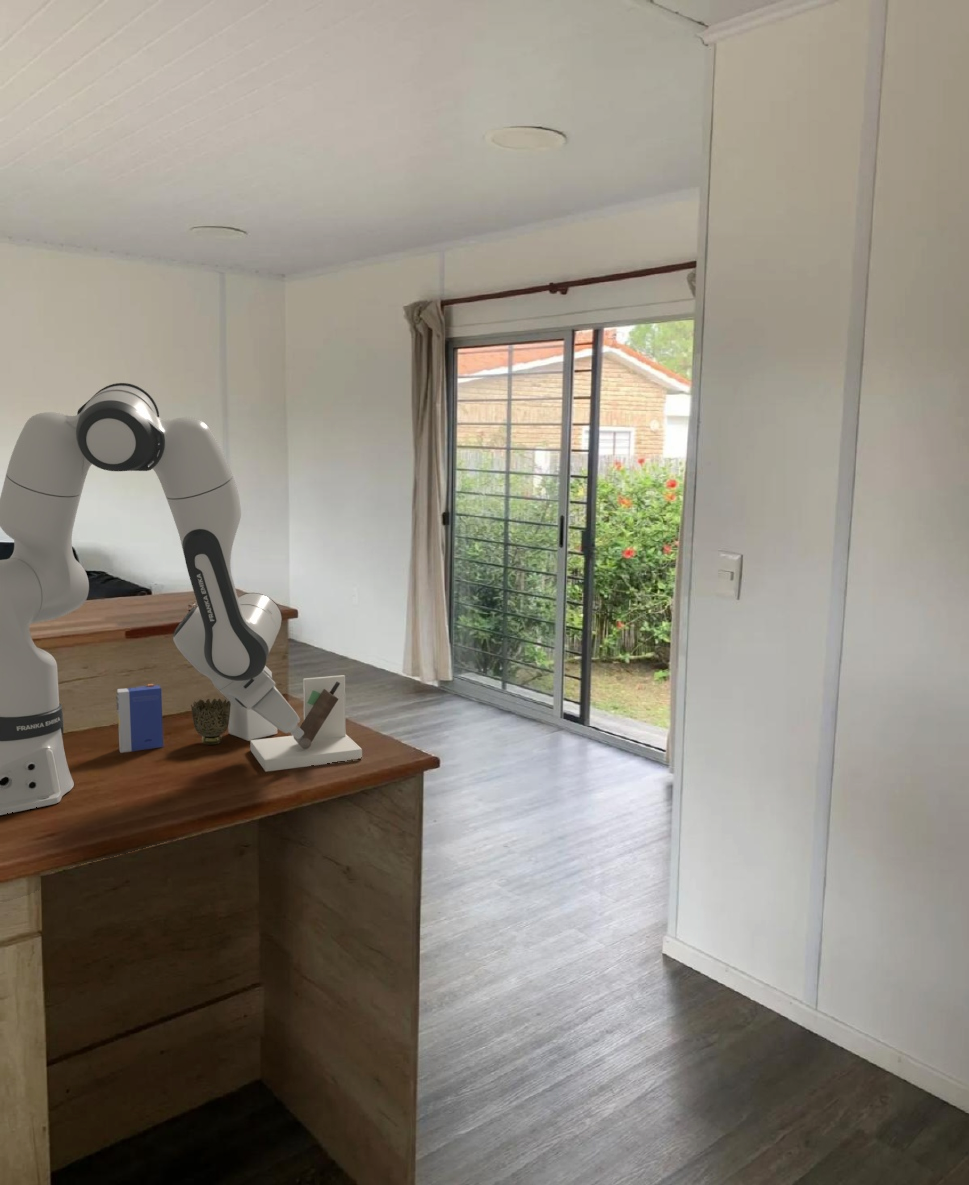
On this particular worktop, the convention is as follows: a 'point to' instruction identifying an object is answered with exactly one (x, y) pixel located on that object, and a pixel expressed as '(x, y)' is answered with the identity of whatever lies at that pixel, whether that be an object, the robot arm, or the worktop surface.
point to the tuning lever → (317, 716)
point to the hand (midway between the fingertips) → (299, 735)
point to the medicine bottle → (249, 724)
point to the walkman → (140, 718)
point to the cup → (211, 719)
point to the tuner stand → (326, 743)
